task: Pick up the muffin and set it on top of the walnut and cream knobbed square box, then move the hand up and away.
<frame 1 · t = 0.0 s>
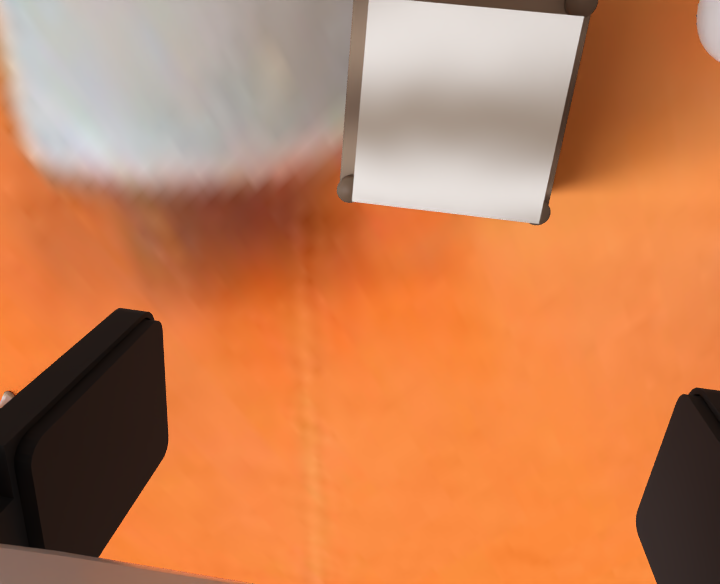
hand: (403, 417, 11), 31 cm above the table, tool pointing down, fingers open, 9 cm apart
knobbed square box: (454, 91, 38), on the table
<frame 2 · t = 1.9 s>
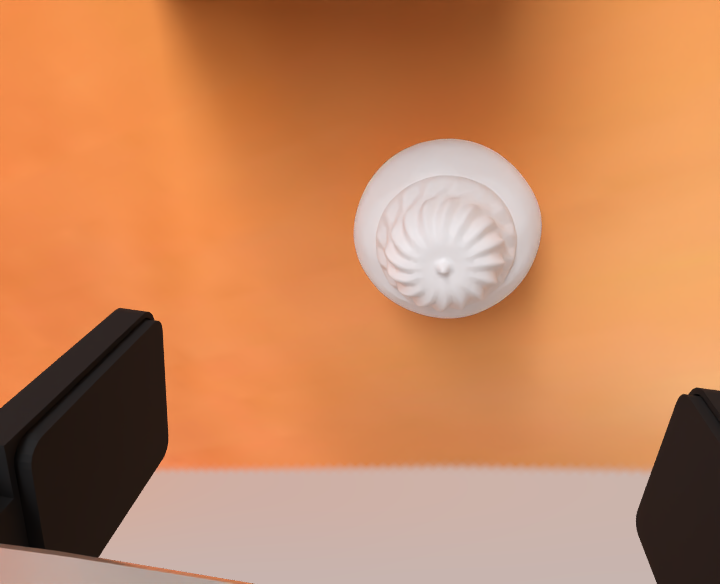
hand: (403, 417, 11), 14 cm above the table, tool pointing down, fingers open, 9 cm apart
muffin: (447, 203, 23), on the table
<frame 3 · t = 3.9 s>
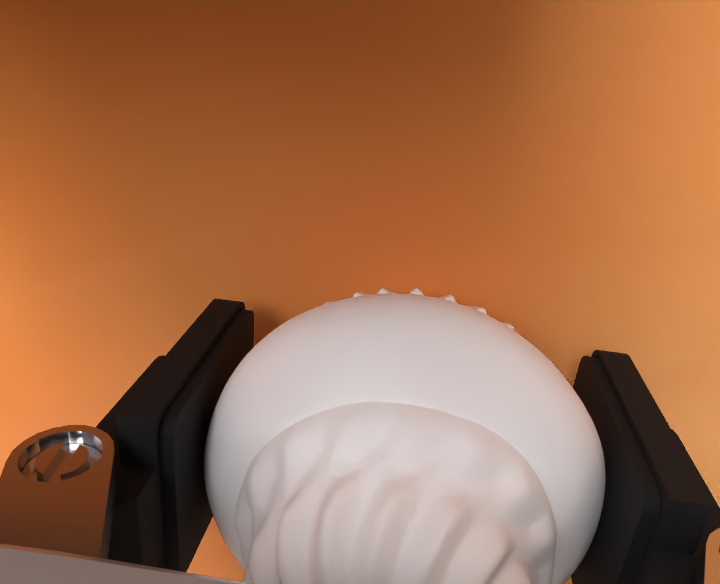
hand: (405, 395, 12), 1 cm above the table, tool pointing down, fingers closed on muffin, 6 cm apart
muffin: (409, 361, 13), on the table, touching gripper
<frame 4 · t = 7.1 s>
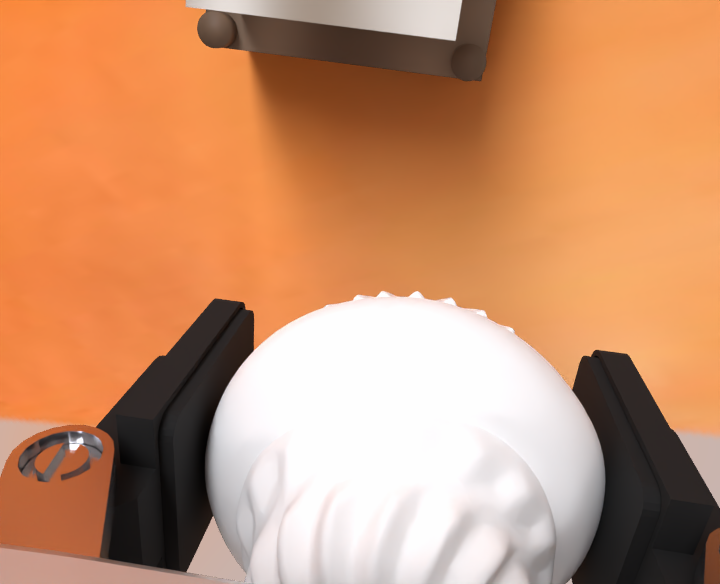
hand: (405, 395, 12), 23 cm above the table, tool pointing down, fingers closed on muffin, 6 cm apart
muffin: (409, 363, 13), point 22 cm above the table, touching gripper
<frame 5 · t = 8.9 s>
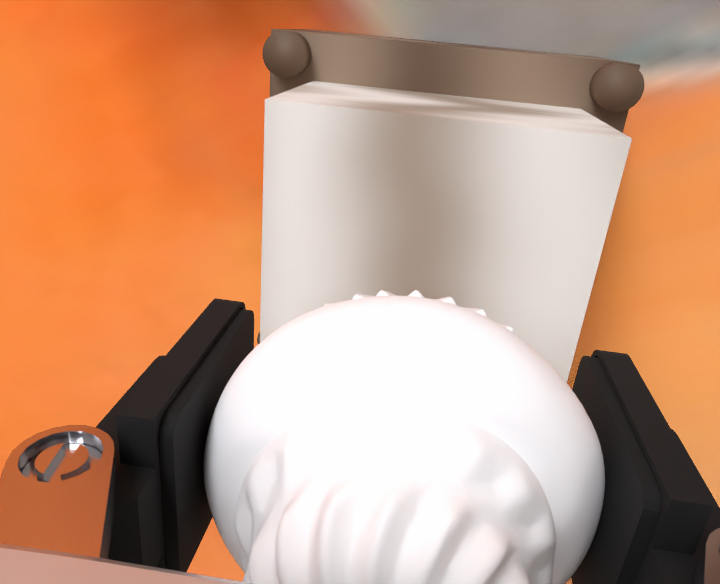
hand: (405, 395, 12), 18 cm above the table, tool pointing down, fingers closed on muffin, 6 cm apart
knobbed square box: (430, 184, 27), on the table
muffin: (409, 362, 13), point 16 cm above the table, touching gripper
when the fingers open (14 cm above the table, at t = 10.3 s): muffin drops 1 cm, resting on knobbed square box.
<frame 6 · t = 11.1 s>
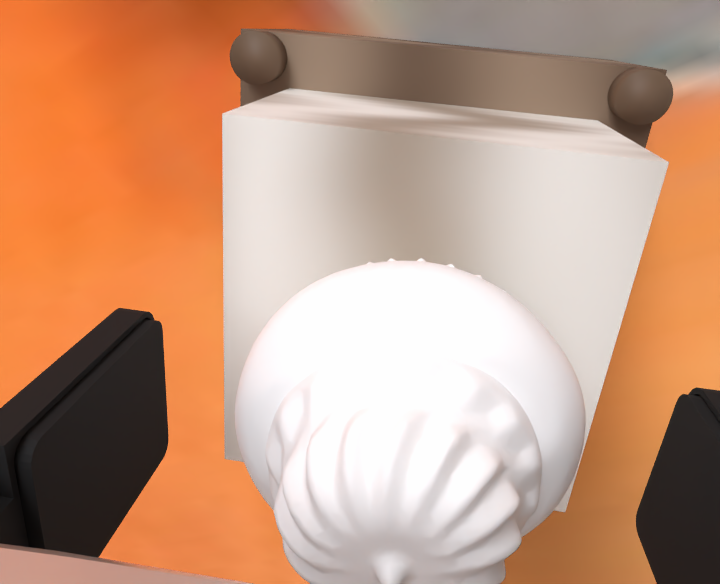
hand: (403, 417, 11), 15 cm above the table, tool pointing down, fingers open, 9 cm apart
knobbed square box: (425, 200, 25), on the table
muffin: (413, 331, 14), point 12 cm above the table, touching knobbed square box
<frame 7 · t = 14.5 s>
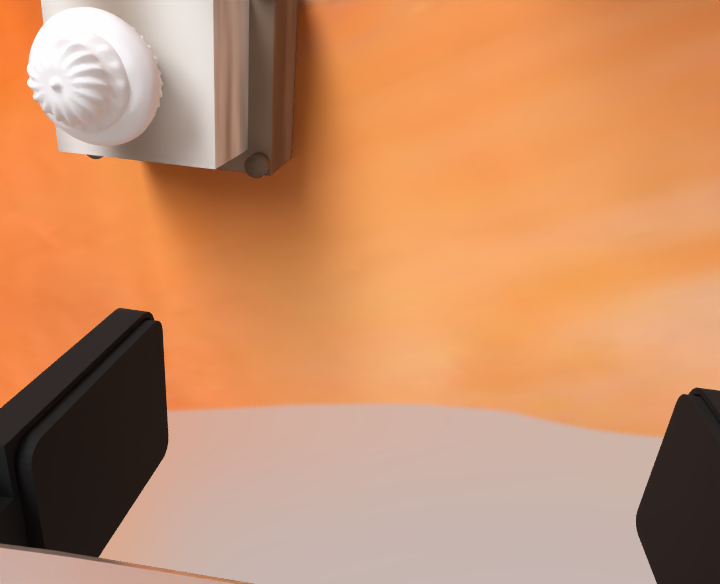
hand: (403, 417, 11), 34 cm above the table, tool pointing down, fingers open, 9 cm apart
knobbed square box: (211, 62, 42), on the table
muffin: (132, 74, 31), point 12 cm above the table, touching knobbed square box
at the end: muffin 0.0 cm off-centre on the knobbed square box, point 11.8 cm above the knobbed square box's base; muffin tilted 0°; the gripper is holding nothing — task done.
